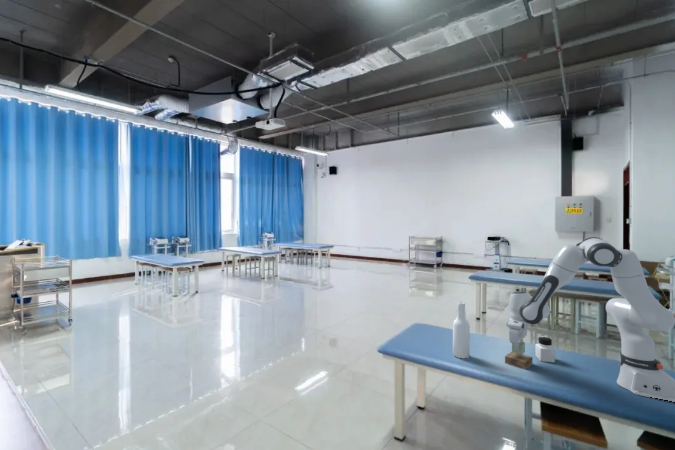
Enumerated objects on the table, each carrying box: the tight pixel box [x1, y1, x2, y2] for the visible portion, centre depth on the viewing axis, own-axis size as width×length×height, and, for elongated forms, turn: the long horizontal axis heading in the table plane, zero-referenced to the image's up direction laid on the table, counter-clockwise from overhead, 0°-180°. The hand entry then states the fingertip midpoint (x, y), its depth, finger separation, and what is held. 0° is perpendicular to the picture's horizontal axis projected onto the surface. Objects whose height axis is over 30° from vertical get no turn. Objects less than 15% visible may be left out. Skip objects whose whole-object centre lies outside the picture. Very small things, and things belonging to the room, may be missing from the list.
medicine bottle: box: [534, 335, 556, 363], centre depth 175 cm, size 7×7×12 cm
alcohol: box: [452, 301, 471, 360], centre depth 179 cm, size 9×9×30 cm
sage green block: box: [511, 341, 526, 355], centre depth 169 cm, size 5×5×5 cm
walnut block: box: [504, 351, 533, 370], centre depth 169 cm, size 10×10×4 cm
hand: (518, 347), depth 169 cm, fingers closed on sage green block, 5 cm apart
